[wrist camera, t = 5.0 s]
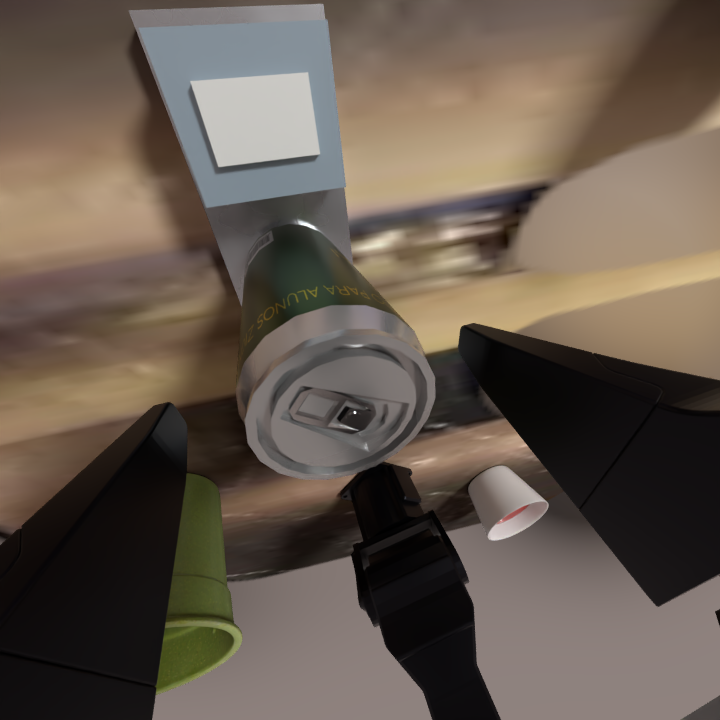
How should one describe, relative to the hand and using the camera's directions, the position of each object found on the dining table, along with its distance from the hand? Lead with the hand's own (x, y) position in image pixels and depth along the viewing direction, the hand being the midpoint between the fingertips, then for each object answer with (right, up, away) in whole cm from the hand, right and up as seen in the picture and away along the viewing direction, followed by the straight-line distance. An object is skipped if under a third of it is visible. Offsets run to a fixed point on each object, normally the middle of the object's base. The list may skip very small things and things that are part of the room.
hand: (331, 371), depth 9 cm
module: (-4, +11, +5) cm, 13 cm away
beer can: (-3, +6, +8) cm, 10 cm away
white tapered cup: (+20, -17, +34) cm, 43 cm away
